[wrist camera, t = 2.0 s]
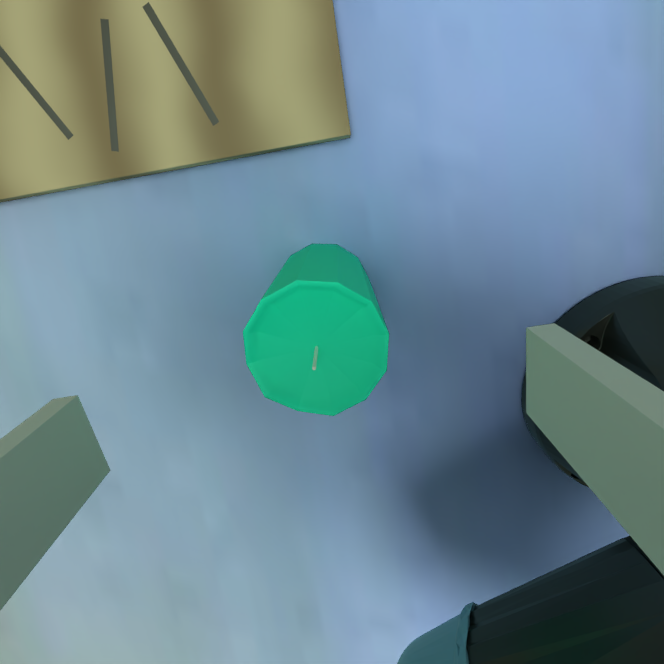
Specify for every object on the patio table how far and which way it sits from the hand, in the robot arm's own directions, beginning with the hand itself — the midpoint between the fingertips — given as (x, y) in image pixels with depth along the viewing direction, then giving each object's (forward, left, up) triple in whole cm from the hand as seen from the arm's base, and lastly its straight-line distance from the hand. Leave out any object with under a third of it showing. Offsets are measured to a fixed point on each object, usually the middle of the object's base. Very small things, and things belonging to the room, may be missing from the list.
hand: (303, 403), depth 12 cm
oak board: (+9, -13, -15) cm, 22 cm away
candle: (0, 0, -15) cm, 15 cm away
